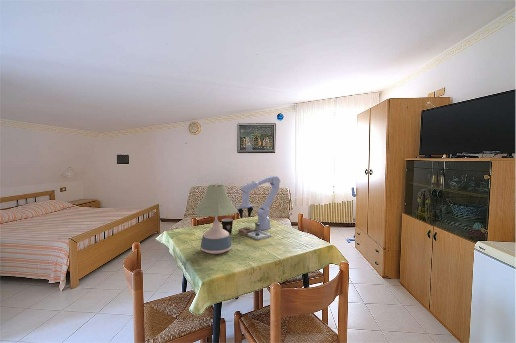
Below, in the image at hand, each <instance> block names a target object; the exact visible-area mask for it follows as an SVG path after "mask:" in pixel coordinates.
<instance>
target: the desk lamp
mask: <svg viewBox="0 0 516 343" xmlns="http://www.w3.org/2000/svg"><path fill="white" fill-rule="evenodd" d="M194 214H195V215H197V216H201V217H202V216H205V217H206V216H207V217H214V220H213V221H212V227H211V228H210V229H209V230H207V231H205V232H204V233H203V235H202V238H201V244H200V249H201V251H202V252H204V253H207V254H210V255H220V254H223V253H226V252H228V251H230V249H232V246H233V244H232V239H231V235H230V234H229V232H227V231H225V230H224V229H223V227H221V223H220V221H219V220H218V219H219V218H218V217H224V216H229V215H233V214H239V212H238V210H237V207H235V205H234V204H233V203H232V201H231V200H230V198H229V196H228V194H227V191H226V187H225V185H223V184H218V182H215V183H214V184H209V185H208V186H207V189H206V191H205V194H204V197H203V199H202V201H201V202H200V204H199V205H198V206H196V208H195V209H194Z"/></svg>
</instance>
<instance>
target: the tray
mask: <svg viewBox="0 0 516 343" xmlns="http://www.w3.org/2000/svg"><path fill="white" fill-rule="evenodd" d="M271 235H272V234H271V233H268V232H266V231H264V230H260V235H259V236H256V235H255V232H251V233H248V235H247V237H249V238H252V239H254V240H257V241H259V240H263V239H267V238H271Z"/></svg>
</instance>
